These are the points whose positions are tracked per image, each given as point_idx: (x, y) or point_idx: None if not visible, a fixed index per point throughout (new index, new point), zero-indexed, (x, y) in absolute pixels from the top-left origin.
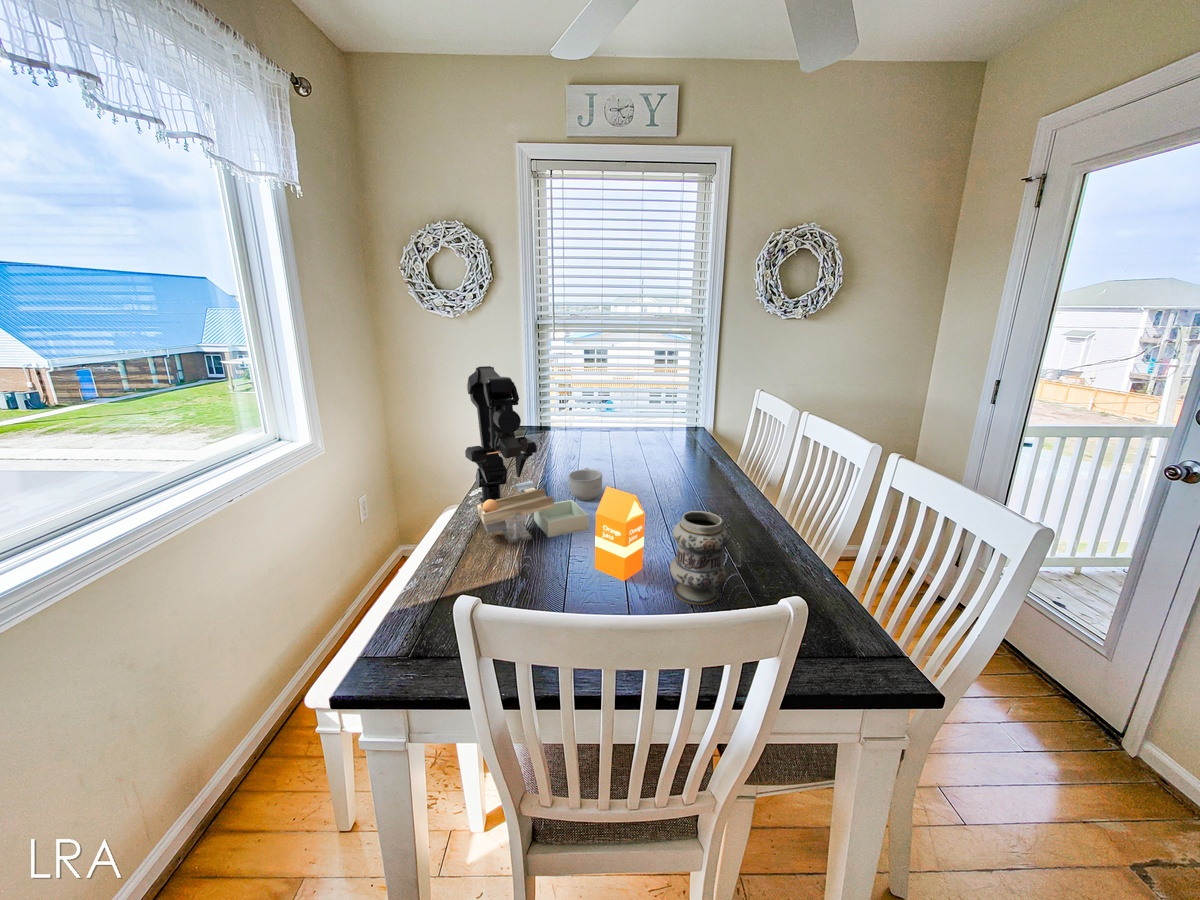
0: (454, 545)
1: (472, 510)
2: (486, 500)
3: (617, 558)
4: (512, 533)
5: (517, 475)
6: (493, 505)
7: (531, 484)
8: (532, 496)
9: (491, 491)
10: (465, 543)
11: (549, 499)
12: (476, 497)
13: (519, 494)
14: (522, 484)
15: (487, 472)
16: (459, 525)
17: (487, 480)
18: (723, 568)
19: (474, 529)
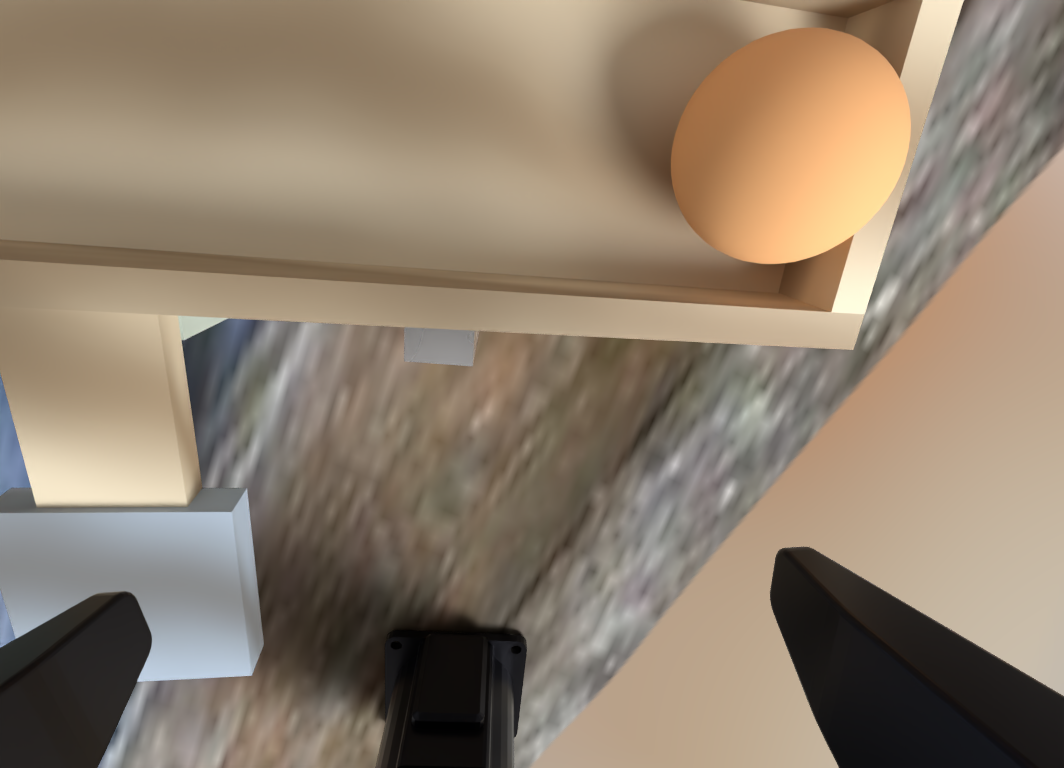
0: (939, 171)
1: (606, 619)
2: (865, 202)
3: None
4: None
5: (129, 652)
6: (809, 38)
7: (51, 588)
8: (110, 253)
9: (465, 729)
10: None
11: None
12: (518, 761)
13: (285, 298)
14: (171, 637)
15: (1033, 750)
16: (765, 457)
17: (842, 575)
18: None
19: (709, 357)
